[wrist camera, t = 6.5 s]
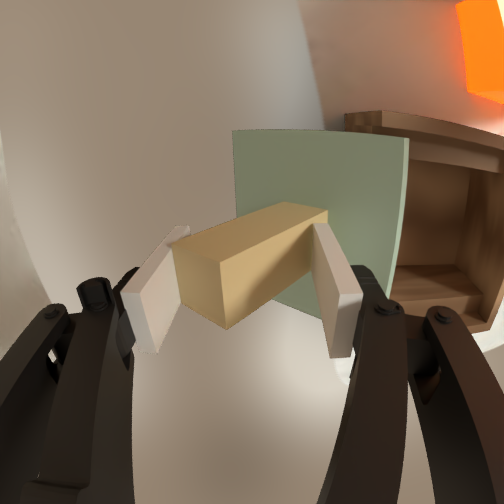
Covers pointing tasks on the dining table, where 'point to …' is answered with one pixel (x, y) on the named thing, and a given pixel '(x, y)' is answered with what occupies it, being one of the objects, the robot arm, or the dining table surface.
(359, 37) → the dining table surface
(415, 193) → the box
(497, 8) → the orange juice
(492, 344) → the dining table surface
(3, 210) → the dining table surface
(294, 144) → the cover plate
